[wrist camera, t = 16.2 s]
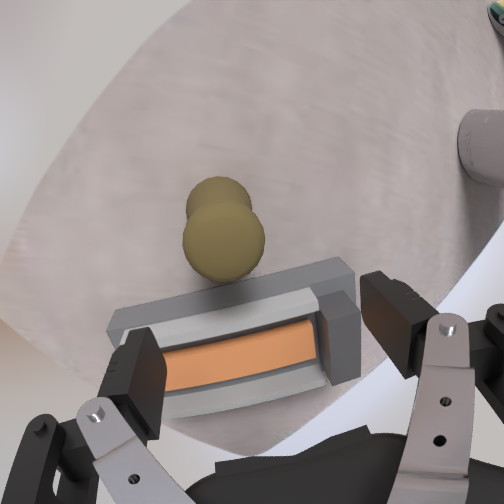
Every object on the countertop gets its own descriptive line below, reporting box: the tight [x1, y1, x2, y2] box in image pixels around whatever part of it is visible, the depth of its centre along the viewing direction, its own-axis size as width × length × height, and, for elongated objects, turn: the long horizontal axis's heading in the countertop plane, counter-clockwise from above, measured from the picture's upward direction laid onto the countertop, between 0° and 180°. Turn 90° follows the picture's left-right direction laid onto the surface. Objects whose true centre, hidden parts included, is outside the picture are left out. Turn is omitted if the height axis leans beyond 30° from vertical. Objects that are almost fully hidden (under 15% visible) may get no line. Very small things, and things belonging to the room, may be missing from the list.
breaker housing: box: [106, 257, 361, 420], centre depth 29 cm, size 24×11×8 cm, turn 102°
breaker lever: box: [162, 319, 316, 391], centre depth 29 cm, size 17×4×1 cm, turn 102°
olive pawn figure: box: [183, 176, 265, 282], centre depth 23 cm, size 6×6×11 cm
